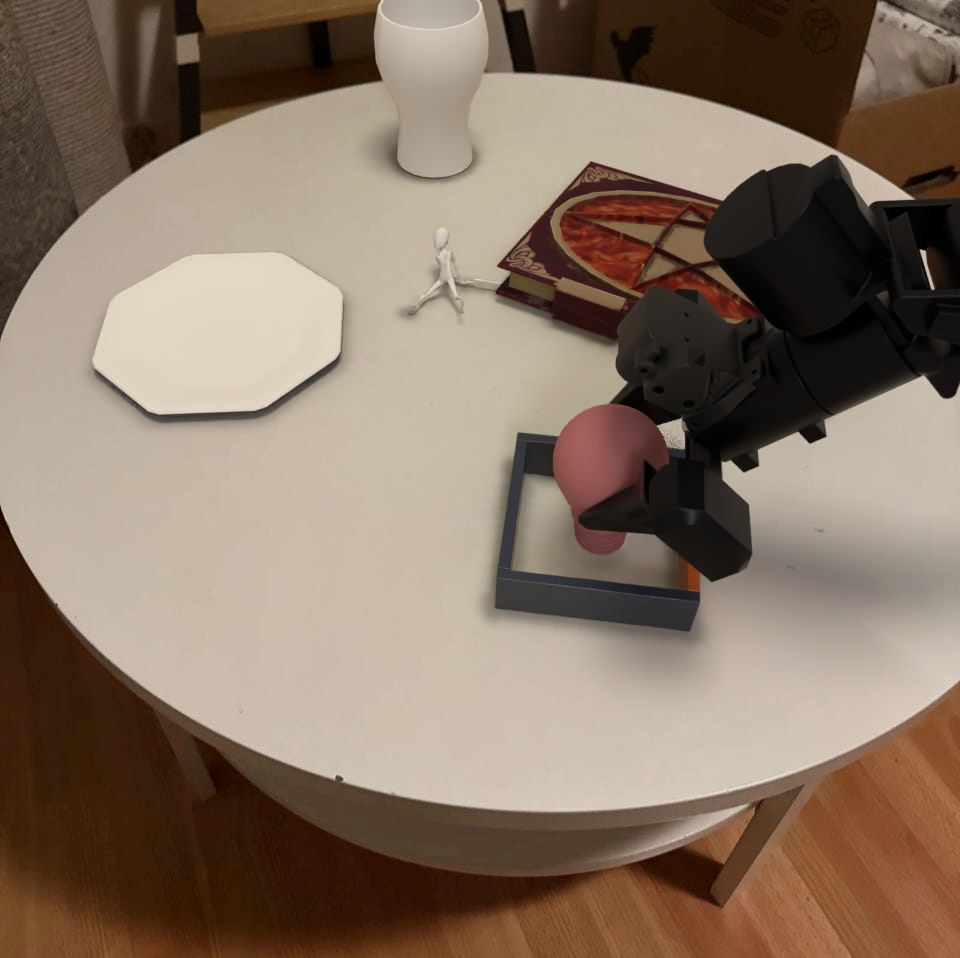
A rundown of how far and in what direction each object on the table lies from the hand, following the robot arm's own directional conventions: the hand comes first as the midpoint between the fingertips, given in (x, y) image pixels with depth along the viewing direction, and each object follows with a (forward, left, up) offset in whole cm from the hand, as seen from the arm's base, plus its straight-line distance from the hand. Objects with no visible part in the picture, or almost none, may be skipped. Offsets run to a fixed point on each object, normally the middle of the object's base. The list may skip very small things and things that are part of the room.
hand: (585, 477), depth 59 cm
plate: (+18, -30, -7) cm, 36 cm away
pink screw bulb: (-1, +1, -7) cm, 7 cm away
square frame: (-1, +1, -7) cm, 7 cm away
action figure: (-4, -26, -7) cm, 27 cm away
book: (-21, -21, -7) cm, 31 cm away
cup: (-7, -49, -7) cm, 50 cm away
